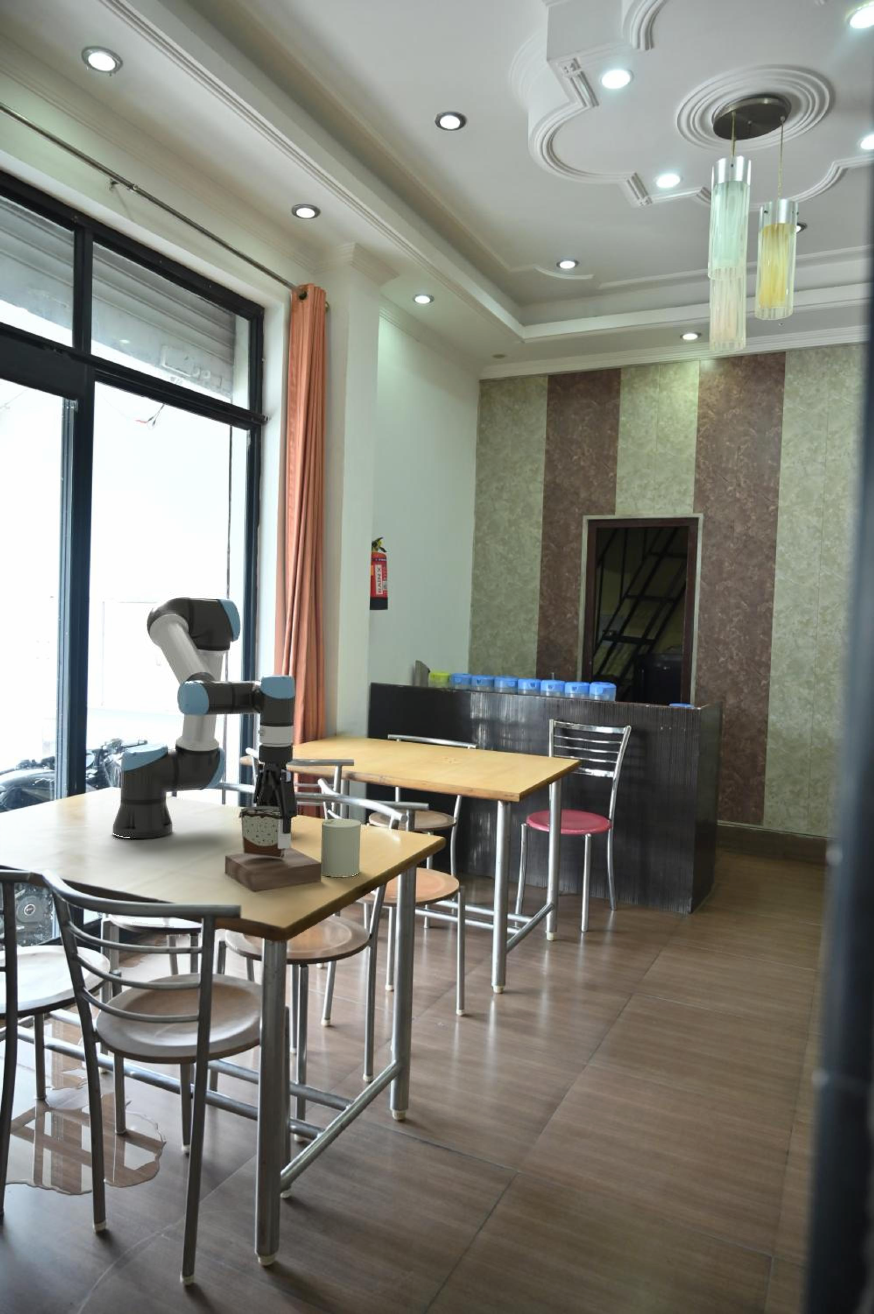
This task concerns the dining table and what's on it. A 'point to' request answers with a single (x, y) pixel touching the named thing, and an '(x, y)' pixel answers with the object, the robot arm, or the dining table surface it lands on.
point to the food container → (261, 831)
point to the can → (340, 847)
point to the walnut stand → (272, 870)
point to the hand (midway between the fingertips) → (273, 842)
